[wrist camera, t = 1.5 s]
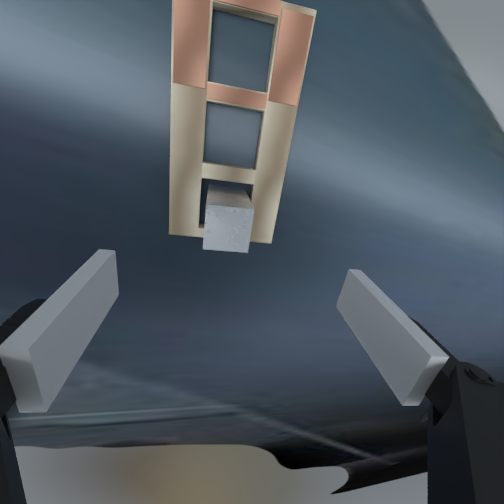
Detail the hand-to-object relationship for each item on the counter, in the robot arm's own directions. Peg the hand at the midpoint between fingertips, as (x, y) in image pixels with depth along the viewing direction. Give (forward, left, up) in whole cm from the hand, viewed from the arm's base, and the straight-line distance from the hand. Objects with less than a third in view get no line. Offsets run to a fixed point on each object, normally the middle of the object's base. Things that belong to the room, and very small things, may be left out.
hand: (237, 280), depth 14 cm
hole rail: (0, +7, -17) cm, 18 cm away
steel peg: (0, 0, -17) cm, 17 cm away
